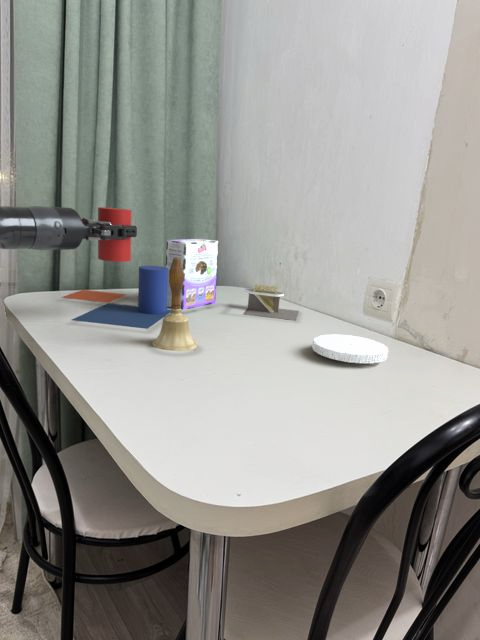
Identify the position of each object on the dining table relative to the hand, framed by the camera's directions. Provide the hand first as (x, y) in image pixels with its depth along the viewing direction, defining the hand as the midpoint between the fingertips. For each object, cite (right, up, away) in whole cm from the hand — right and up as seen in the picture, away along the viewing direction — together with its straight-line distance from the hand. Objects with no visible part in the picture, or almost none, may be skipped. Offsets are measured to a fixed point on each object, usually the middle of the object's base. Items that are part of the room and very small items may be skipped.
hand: (123, 229), depth 103 cm
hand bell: (+12, -24, -11) cm, 29 cm away
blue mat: (-2, -17, +8) cm, 19 cm away
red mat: (-14, -11, +24) cm, 30 cm away
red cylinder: (-2, -6, 0) cm, 6 cm away
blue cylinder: (+3, -16, +13) cm, 21 cm away
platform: (+28, -15, +26) cm, 41 cm away
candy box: (+10, -14, +24) cm, 30 cm away
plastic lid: (+45, -26, -8) cm, 52 cm away
